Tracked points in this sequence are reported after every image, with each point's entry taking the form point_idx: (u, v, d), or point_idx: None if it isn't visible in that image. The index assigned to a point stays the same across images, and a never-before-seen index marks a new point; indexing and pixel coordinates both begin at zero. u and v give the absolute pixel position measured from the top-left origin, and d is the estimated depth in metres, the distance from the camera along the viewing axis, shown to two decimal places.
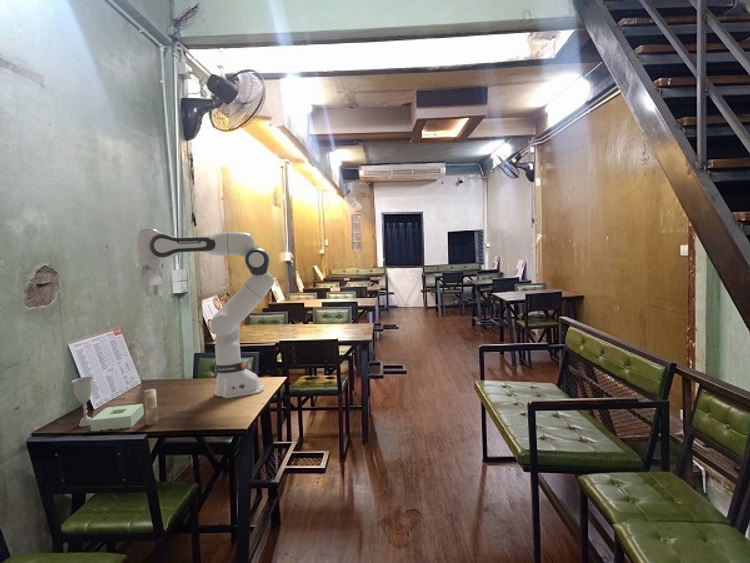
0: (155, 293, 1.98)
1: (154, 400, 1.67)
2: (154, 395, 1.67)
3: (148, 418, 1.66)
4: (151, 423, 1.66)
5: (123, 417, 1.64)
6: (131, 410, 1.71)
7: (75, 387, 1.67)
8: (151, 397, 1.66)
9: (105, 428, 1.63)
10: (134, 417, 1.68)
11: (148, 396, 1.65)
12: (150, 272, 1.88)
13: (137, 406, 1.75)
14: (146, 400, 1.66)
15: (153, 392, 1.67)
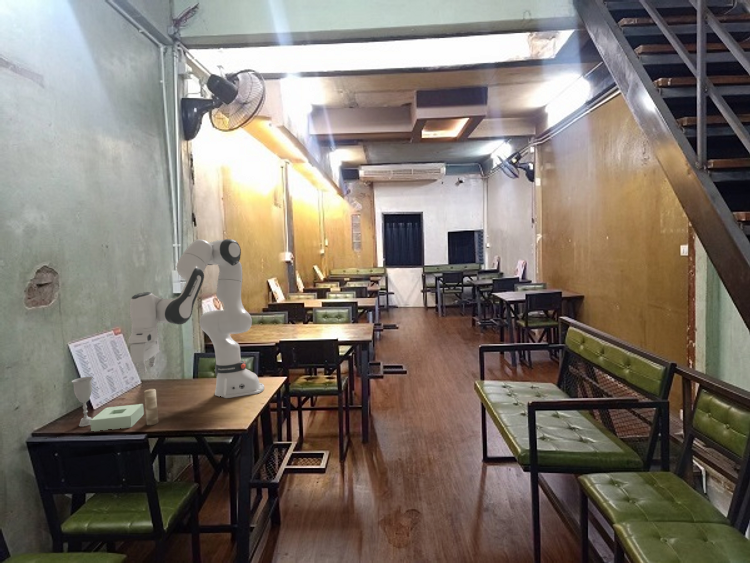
0: None
1: (154, 400, 1.67)
2: (154, 395, 1.67)
3: (148, 418, 1.66)
4: (151, 423, 1.66)
5: (123, 417, 1.64)
6: (131, 410, 1.71)
7: (75, 387, 1.67)
8: (151, 397, 1.66)
9: (105, 428, 1.63)
10: (134, 417, 1.68)
11: (148, 396, 1.65)
12: None
13: (137, 406, 1.75)
14: (146, 400, 1.66)
15: (153, 392, 1.67)
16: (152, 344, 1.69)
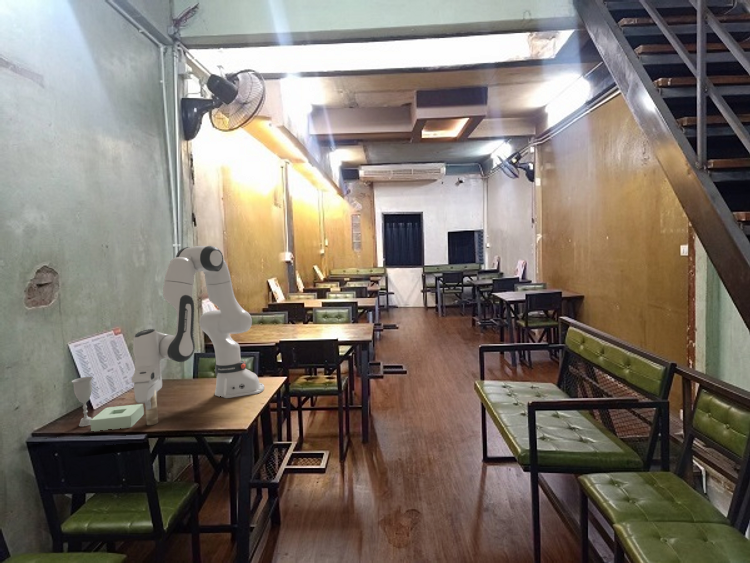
0: None
1: (154, 400, 1.67)
2: (154, 395, 1.67)
3: (148, 418, 1.66)
4: (151, 423, 1.66)
5: (123, 417, 1.64)
6: (131, 410, 1.71)
7: (75, 387, 1.67)
8: (151, 397, 1.66)
9: (105, 428, 1.63)
10: (134, 417, 1.68)
11: None
12: None
13: (137, 406, 1.75)
14: None
15: None
16: (155, 380, 1.70)
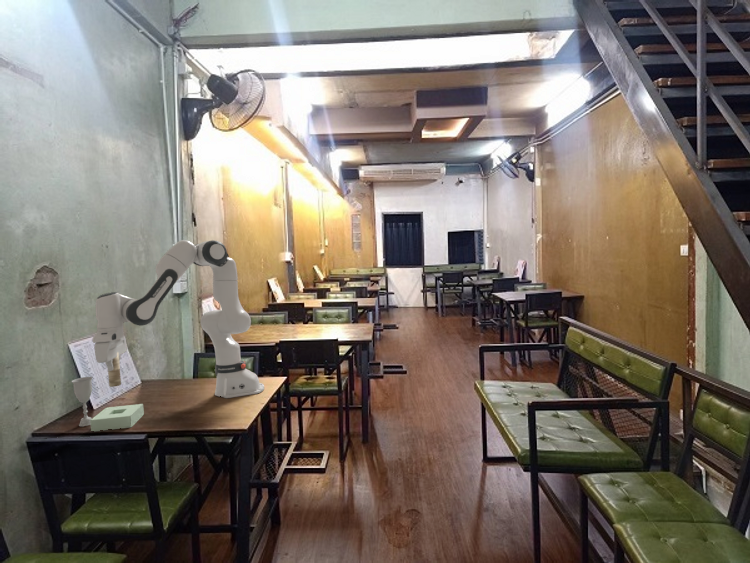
0: None
1: (116, 362, 1.68)
2: (117, 357, 1.68)
3: (110, 380, 1.67)
4: (113, 385, 1.68)
5: (123, 417, 1.64)
6: (131, 410, 1.71)
7: (75, 387, 1.67)
8: (114, 358, 1.67)
9: (105, 428, 1.63)
10: (134, 417, 1.68)
11: None
12: None
13: (137, 406, 1.75)
14: None
15: None
16: (118, 343, 1.71)
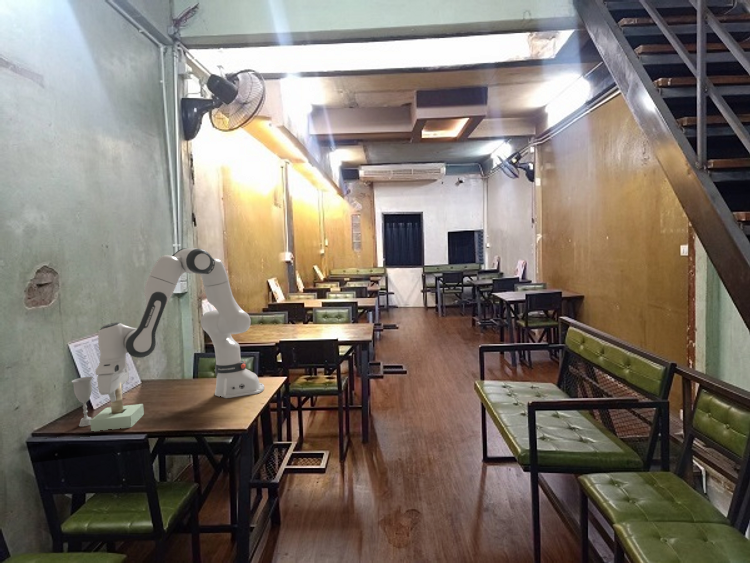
0: None
1: (119, 392, 1.69)
2: (119, 387, 1.69)
3: (113, 410, 1.68)
4: None
5: (123, 417, 1.64)
6: (131, 410, 1.71)
7: (75, 387, 1.67)
8: (116, 389, 1.68)
9: (105, 428, 1.63)
10: (134, 417, 1.68)
11: None
12: None
13: (137, 406, 1.75)
14: None
15: None
16: (121, 373, 1.72)
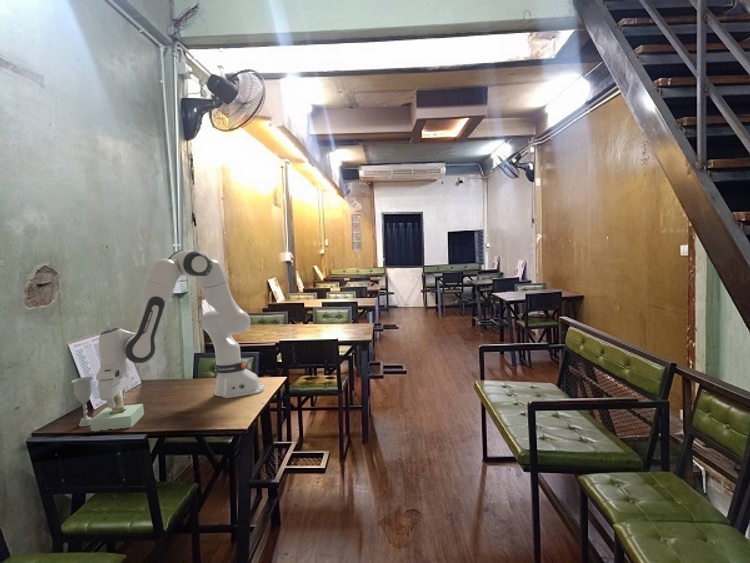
0: None
1: (120, 400, 1.69)
2: (120, 395, 1.69)
3: None
4: None
5: (123, 417, 1.64)
6: (131, 410, 1.71)
7: (75, 387, 1.67)
8: (117, 396, 1.68)
9: (105, 428, 1.63)
10: (134, 417, 1.68)
11: None
12: None
13: (137, 406, 1.75)
14: None
15: None
16: (122, 378, 1.72)
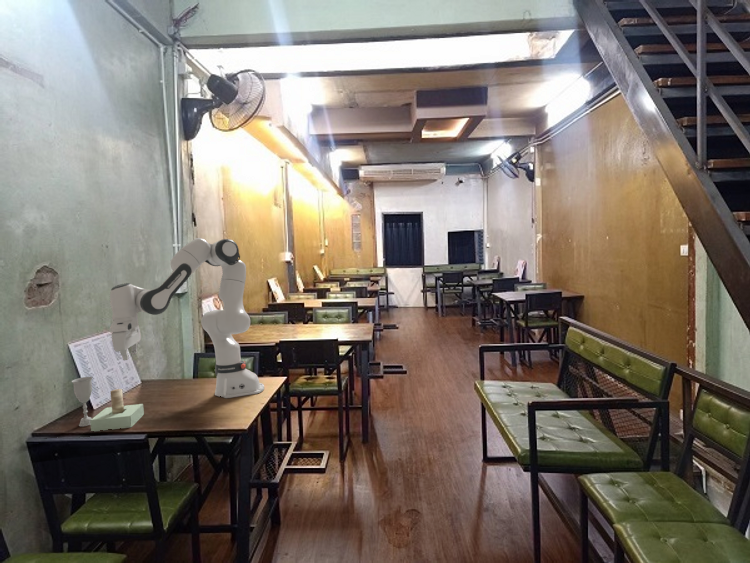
0: None
1: (120, 400, 1.69)
2: (120, 395, 1.69)
3: None
4: None
5: (123, 417, 1.64)
6: (131, 410, 1.71)
7: (75, 387, 1.67)
8: (118, 396, 1.68)
9: (105, 428, 1.63)
10: (134, 417, 1.68)
11: (114, 396, 1.68)
12: None
13: (137, 406, 1.75)
14: (112, 400, 1.68)
15: (119, 392, 1.69)
16: (133, 332, 1.78)
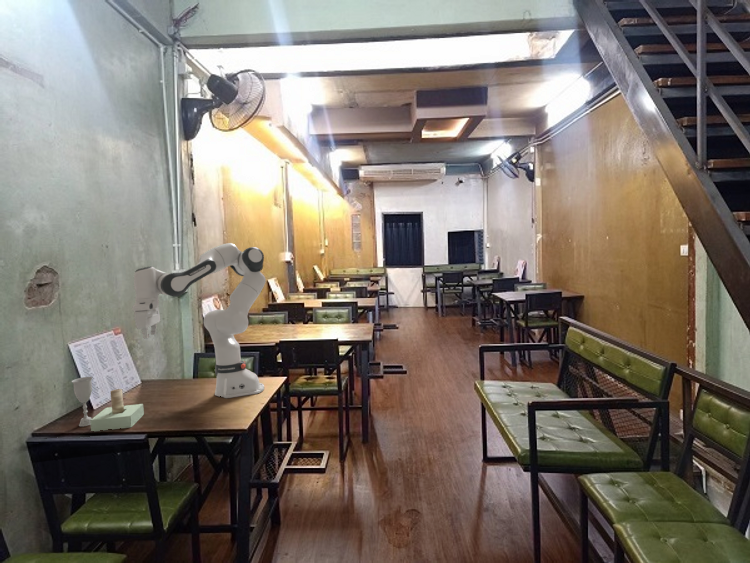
0: None
1: (120, 400, 1.69)
2: (120, 395, 1.69)
3: None
4: None
5: (123, 417, 1.64)
6: (131, 410, 1.71)
7: (75, 387, 1.67)
8: (118, 396, 1.68)
9: (105, 428, 1.63)
10: (134, 417, 1.68)
11: (114, 396, 1.68)
12: None
13: (137, 406, 1.75)
14: (112, 400, 1.68)
15: (119, 392, 1.69)
16: (154, 313, 1.88)
